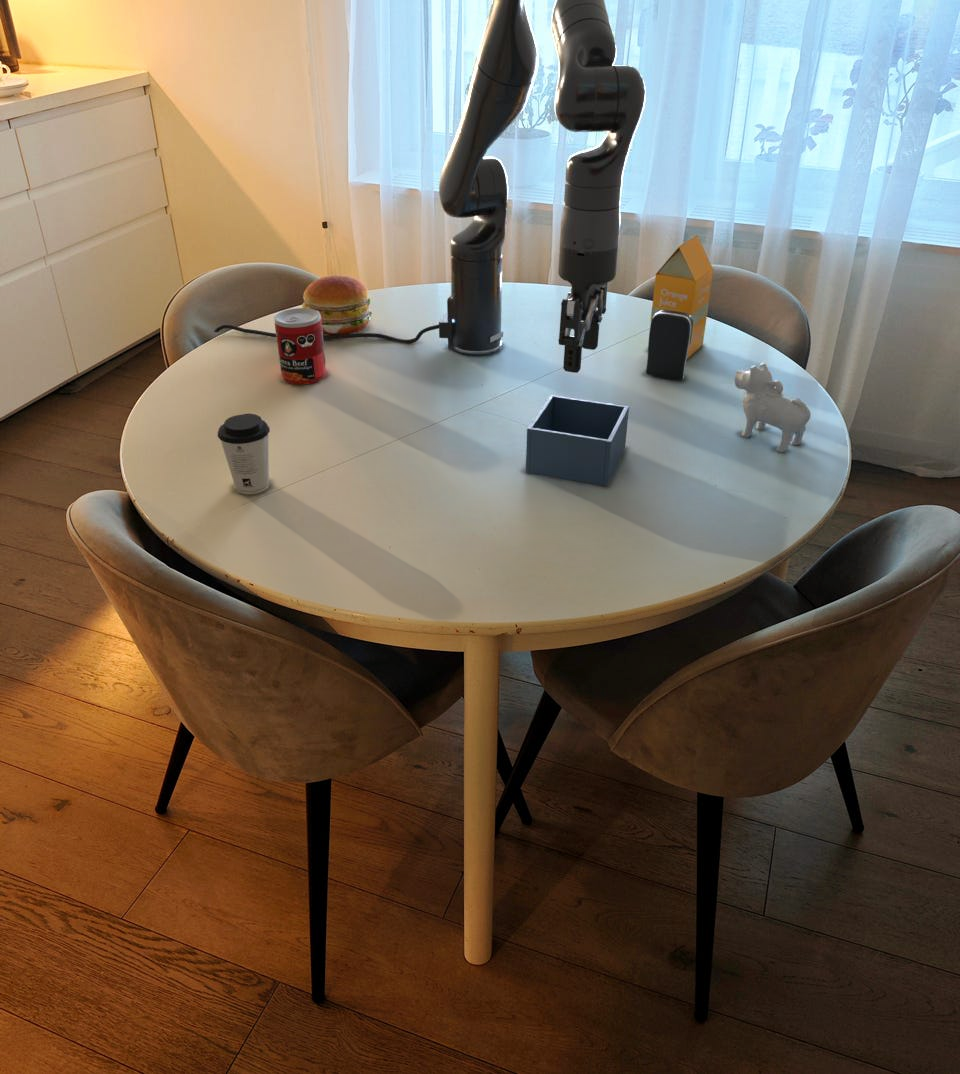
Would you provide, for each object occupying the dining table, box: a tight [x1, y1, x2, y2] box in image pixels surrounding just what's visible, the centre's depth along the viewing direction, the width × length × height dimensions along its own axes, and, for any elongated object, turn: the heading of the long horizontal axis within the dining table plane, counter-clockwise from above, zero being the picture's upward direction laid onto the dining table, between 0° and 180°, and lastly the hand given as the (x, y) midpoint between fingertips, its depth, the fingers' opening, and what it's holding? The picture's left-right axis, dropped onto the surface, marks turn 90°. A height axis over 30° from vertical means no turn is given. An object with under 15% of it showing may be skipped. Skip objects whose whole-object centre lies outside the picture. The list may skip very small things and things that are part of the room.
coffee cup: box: [217, 412, 271, 496], centre depth 124 cm, size 7×7×10 cm
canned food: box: [273, 307, 327, 386], centre depth 156 cm, size 8×8×11 cm
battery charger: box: [645, 310, 693, 381], centre depth 156 cm, size 7×4×11 cm, turn 65°
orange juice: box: [650, 234, 715, 359], centre depth 164 cm, size 8×9×20 cm
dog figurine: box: [734, 362, 811, 453], centre depth 137 cm, size 5×13×11 cm, turn 40°
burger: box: [301, 274, 373, 335], centre depth 176 cm, size 14×14×10 cm
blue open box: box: [525, 394, 630, 487], centre depth 132 cm, size 7×12×12 cm
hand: (580, 359), depth 125 cm, fingers open, 8 cm apart
